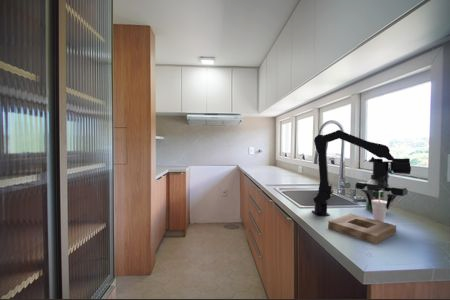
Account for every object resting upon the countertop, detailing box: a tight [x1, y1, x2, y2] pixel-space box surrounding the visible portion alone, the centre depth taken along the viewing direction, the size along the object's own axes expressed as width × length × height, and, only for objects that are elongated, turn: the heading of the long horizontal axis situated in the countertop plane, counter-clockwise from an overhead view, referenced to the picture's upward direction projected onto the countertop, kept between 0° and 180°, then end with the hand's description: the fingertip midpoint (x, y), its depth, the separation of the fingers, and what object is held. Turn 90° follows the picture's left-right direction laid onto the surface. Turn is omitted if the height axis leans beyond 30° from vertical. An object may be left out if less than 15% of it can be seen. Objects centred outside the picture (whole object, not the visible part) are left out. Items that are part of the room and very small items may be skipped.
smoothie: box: [371, 191, 388, 222], centre depth 102 cm, size 6×6×14 cm
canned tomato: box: [365, 190, 385, 213], centre depth 121 cm, size 8×8×11 cm
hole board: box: [327, 213, 397, 245], centre depth 93 cm, size 18×18×3 cm
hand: (379, 207), depth 102 cm, fingers closed on smoothie, 6 cm apart
